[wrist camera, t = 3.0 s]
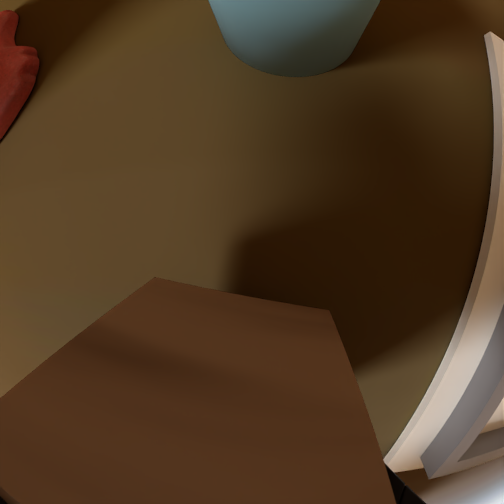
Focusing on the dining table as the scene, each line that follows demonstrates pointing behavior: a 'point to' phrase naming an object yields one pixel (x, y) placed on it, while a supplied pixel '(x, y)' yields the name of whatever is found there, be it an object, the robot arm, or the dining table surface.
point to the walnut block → (193, 409)
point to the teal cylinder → (293, 32)
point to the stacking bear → (14, 71)
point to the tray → (469, 346)
